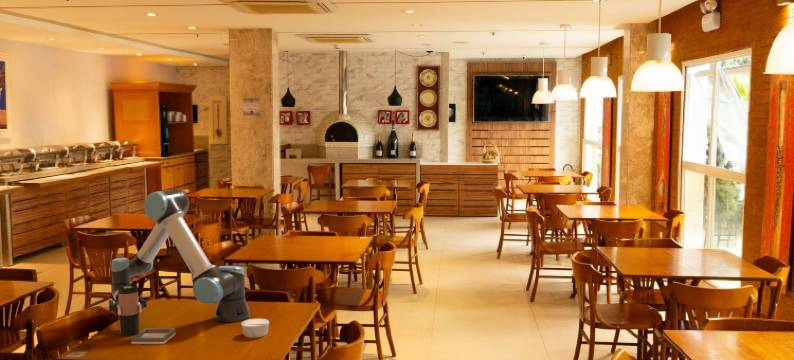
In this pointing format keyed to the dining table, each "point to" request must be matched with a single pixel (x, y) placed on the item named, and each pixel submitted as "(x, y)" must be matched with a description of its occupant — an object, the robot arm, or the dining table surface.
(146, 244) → the robot arm
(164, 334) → the mug dock
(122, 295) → the travel mug
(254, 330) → the ramekin
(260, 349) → the dining table surface
